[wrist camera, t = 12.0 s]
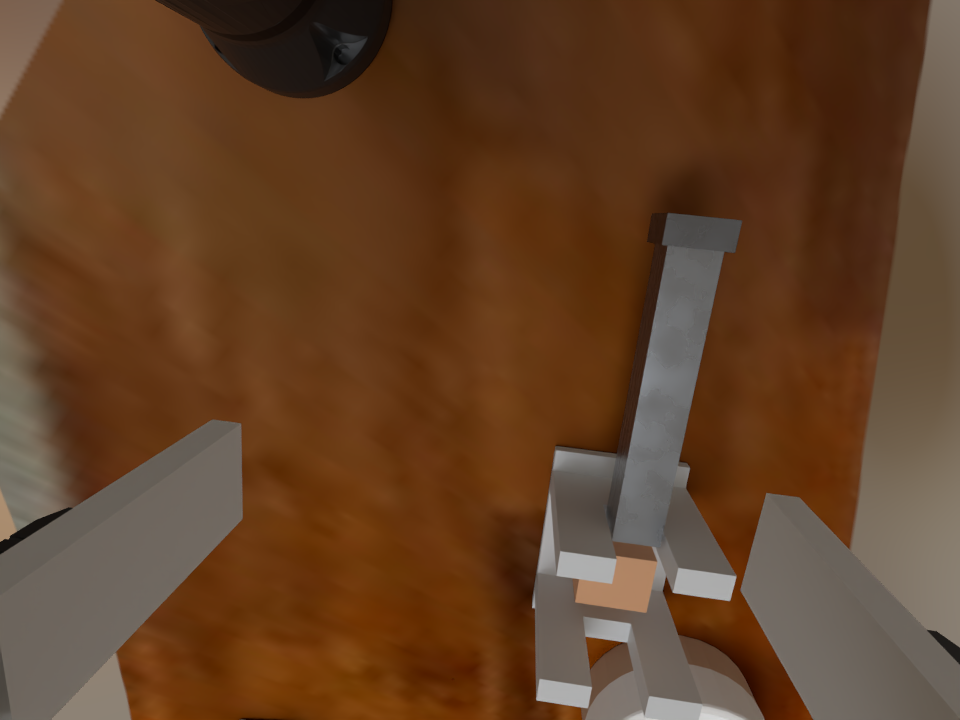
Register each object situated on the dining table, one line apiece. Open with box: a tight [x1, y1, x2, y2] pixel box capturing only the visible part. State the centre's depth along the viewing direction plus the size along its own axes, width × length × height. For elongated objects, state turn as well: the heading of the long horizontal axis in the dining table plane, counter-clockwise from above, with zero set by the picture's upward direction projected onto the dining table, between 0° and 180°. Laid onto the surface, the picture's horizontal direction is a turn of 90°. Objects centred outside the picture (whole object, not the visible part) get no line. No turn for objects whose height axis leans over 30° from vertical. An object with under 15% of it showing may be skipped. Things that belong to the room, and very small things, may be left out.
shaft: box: [606, 213, 742, 548], centre depth 39 cm, size 24×5×5 cm, turn 174°
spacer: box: [572, 541, 657, 613], centre depth 48 cm, size 6×6×5 cm
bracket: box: [532, 446, 736, 720], centre depth 45 cm, size 17×12×14 cm
